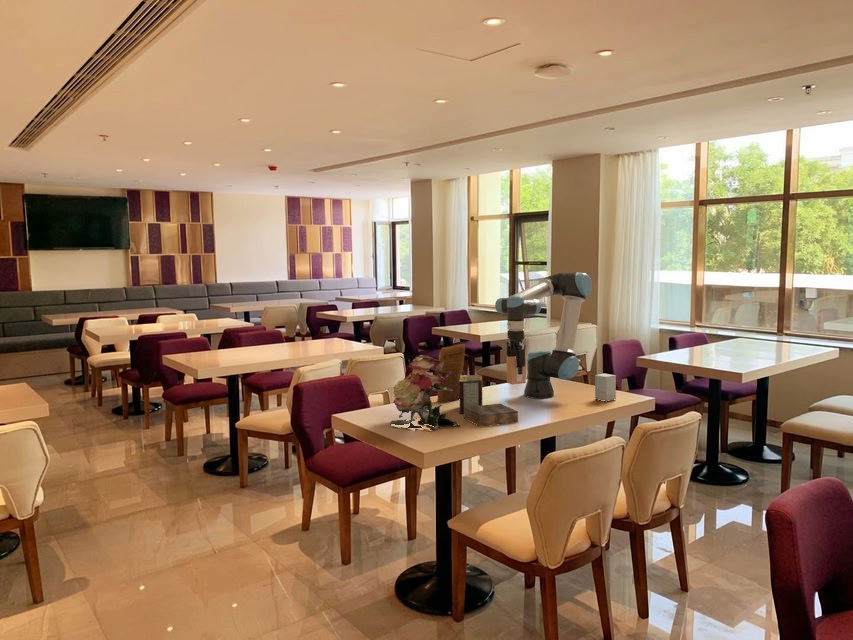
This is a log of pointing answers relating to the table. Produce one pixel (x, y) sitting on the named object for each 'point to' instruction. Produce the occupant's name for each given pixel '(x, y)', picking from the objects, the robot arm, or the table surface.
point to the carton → (514, 371)
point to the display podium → (490, 414)
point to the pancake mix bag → (453, 364)
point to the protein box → (470, 391)
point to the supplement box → (605, 387)
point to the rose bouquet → (421, 392)
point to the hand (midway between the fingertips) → (516, 380)
